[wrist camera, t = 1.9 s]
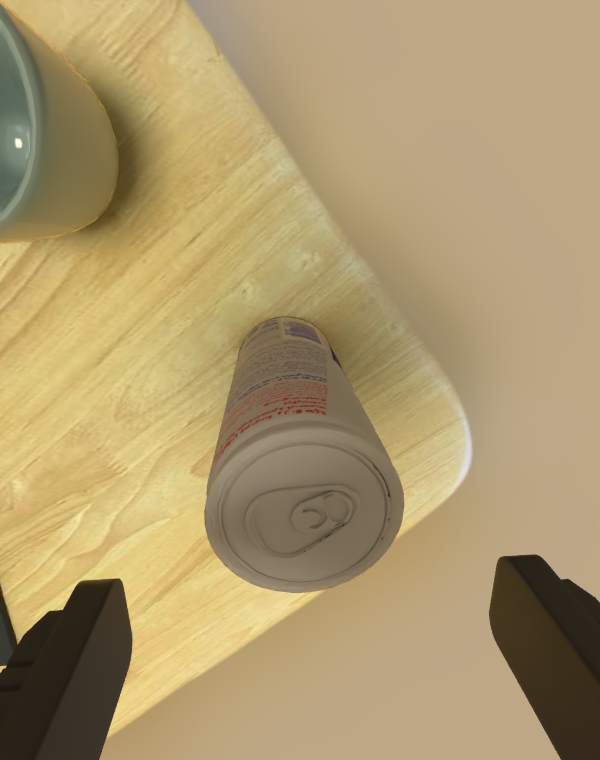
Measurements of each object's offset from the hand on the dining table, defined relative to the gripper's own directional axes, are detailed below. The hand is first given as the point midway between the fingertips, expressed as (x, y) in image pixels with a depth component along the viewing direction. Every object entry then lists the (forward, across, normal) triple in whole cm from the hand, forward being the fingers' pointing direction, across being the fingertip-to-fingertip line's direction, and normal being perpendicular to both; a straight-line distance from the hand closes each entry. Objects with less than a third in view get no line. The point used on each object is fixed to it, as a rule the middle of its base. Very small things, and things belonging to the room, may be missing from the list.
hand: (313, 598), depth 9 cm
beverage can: (+18, 0, 0) cm, 18 cm away
